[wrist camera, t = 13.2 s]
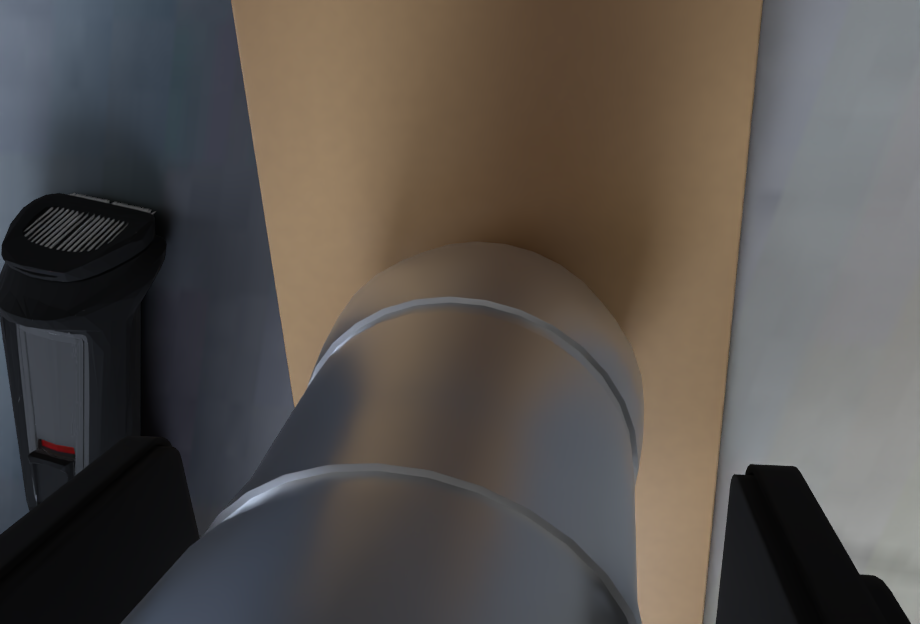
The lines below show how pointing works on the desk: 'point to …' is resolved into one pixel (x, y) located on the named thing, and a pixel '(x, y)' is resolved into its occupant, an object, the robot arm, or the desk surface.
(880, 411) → the desk surface
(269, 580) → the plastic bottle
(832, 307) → the desk surface
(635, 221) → the wooden board
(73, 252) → the electric trimmer
